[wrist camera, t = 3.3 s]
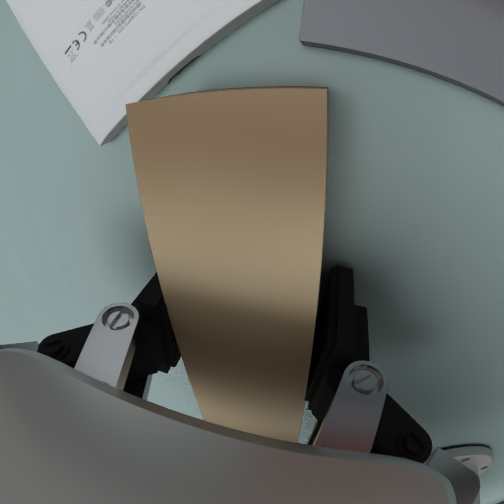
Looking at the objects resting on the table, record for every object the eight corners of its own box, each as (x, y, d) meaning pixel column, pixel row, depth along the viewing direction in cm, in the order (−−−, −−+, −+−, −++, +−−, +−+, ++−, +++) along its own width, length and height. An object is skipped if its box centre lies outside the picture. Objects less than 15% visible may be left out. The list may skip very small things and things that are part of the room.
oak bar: (307, 388, 15) (295, 454, 12) (234, 377, 16) (211, 439, 13) (327, 87, 8) (326, 88, 5) (198, 91, 9) (125, 104, 6)
